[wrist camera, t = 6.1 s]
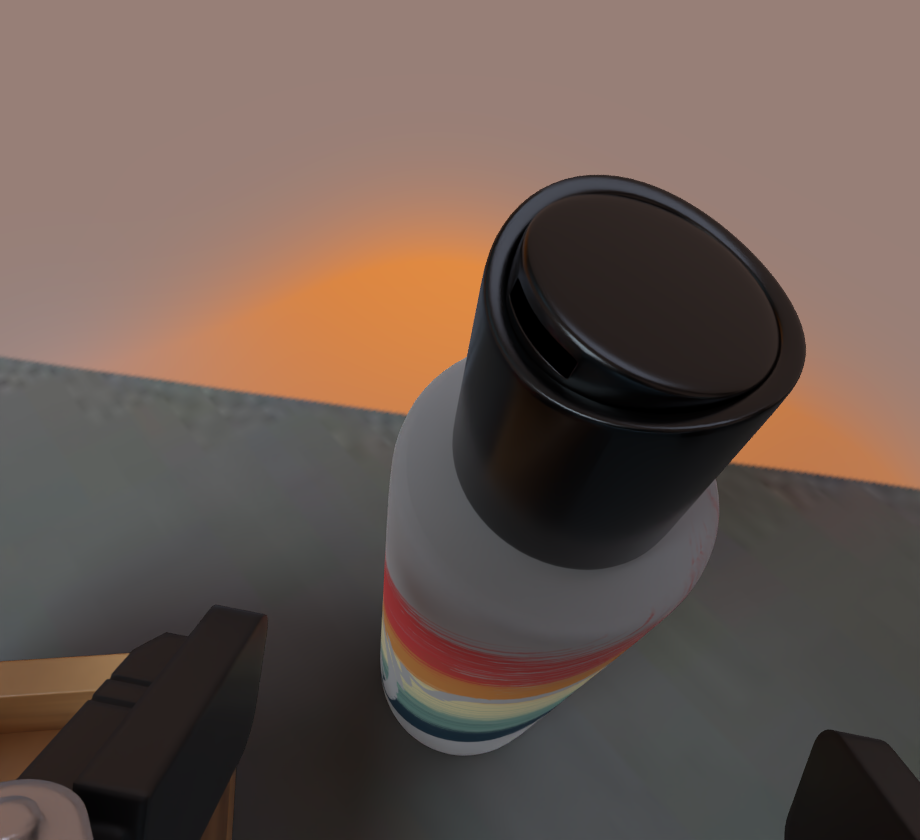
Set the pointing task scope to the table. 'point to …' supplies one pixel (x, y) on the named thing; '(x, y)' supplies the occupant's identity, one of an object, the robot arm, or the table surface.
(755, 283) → the lotion bottle
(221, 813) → the wooden organizer box
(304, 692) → the table surface
